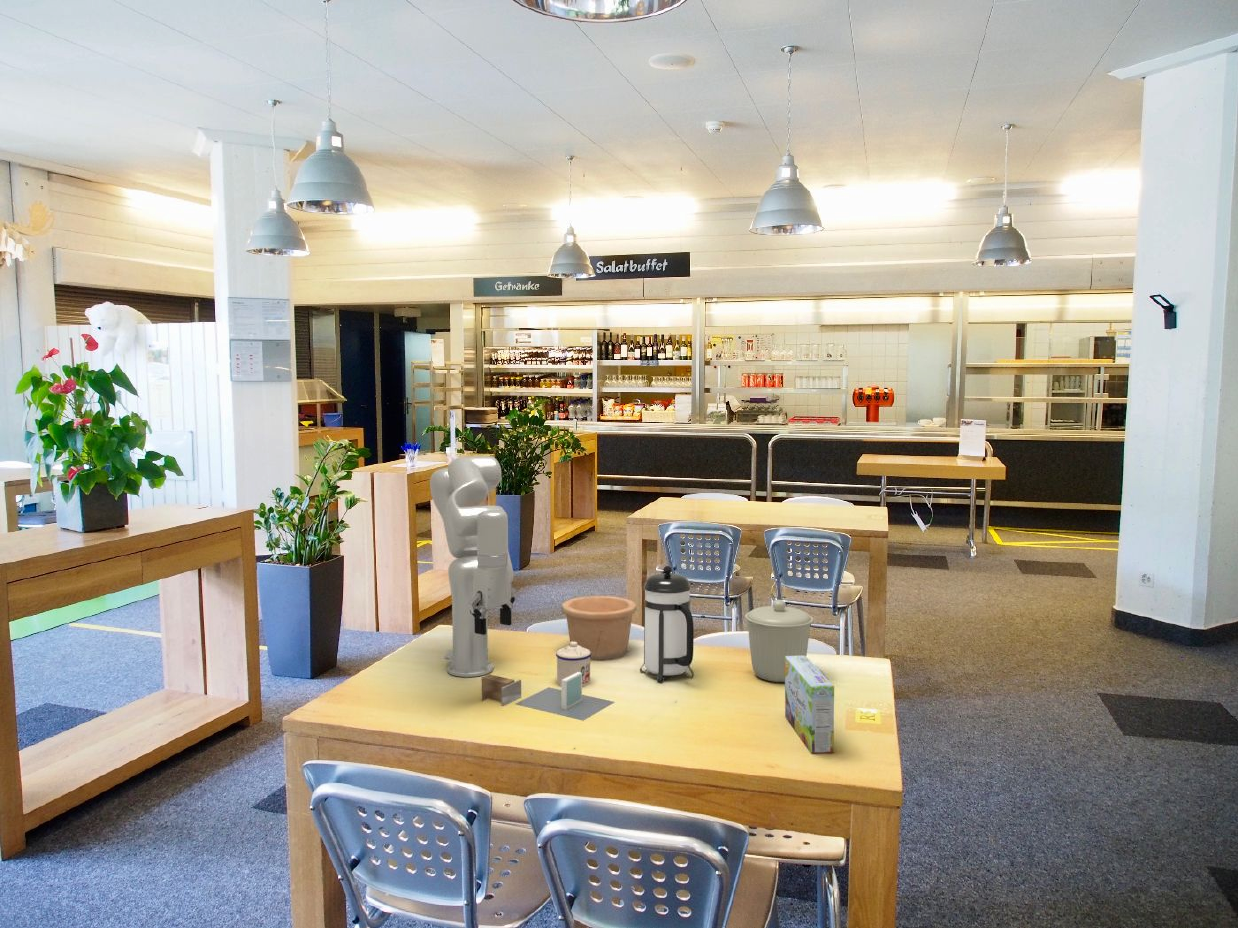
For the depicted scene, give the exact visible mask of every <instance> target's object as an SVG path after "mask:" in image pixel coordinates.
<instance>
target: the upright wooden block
mask: <svg viewBox="0 0 1238 928" xmlns="http://www.w3.org/2000/svg"><path fill="white" fill-rule="evenodd" d="M521 698H522V679H518V680H515V679H514V678H513V679H512V678H507V677H503V676H499V675H495V674H490V673H488V674H486V675H485V676H484V675H483V676H482V677H481V702H483V701H486V700H493V701H497V702H501V706H502V707H505V706H507V705H510V703H512V702H514V701H517V700H519V699H521Z"/></svg>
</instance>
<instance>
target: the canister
mask: <svg viewBox="0 0 1238 928" xmlns="http://www.w3.org/2000/svg"><path fill="white" fill-rule="evenodd" d="M744 618H745V619H746V621H747V629H748V631H747V632H748V640H749V652H750V658H751V666H752V670H753V672H754V674H755V675H756V677H758V678H760V679H761V680H764V681H768V682H775V683H785V656H806V657H807V654H808V649H809V647H808V646H809V640H810V639H809V638H810V633H811V624H813V622H814V617H813V616H812V615H811V614H809V613H807V612H806V611H805V610H803V609H799V608H795V607H791V606H790V607H789V606H787V604H786V601H784V600H783V599H775V600H773V602H772V605H768V606H767V605H765V606H759V607H756V608H754V609H752V610H750V611H748V612H747V613H746V614H745V615H744Z"/></svg>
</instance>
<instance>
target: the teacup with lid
mask: <svg viewBox="0 0 1238 928" xmlns="http://www.w3.org/2000/svg"><path fill="white" fill-rule="evenodd" d="M555 656H556V683H557V685H558V686H560V687H561V680H563V679H565V678H567V677H569V676H571V675H573V674H575V673H577V672H581V673H582V688H584V687H586V686H589V685H590V684H591V660H590V656H591V653H590V651H589V650H588V649H586V648H583V647H581V646H579V645H577V642H570V641H569V645H566V646H565V647H562V648H559V649H558V650H557V651H556V654H555Z"/></svg>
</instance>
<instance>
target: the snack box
mask: <svg viewBox="0 0 1238 928" xmlns="http://www.w3.org/2000/svg"><path fill="white" fill-rule="evenodd" d="M784 699H785V700H784V709H785V710H784V711H785V712H784V714H785V715H784V716H785V718H786V720H787V721H788V722H789V724H790V725H791V728H793V730H794V731H795V733H796V734H797V736H798V737H799V738H800V740H801V741H802V743H803V744H804V746H805V747H806V749H807V750H808V751H809V753H810V754H811V755H814V754H831V753H835V752H834V751H835V750H834V742H835V741H834V737H835V736H834V735H835V734H834V733H835V732H834V731H835V730H834V729H835V727H834V726H835V725H834V724H835V721H834V720H835V719H834V718H835V685H834V684H833V683H832V682H831V681H830V680H829V679H828V678H827V677H826V676H825V675H824V674H823V672H822V671H820V670H819V669H818V667H816V665H815V664H814V663H813V662H812V661H811V660H810V659H809V658H808V657H807V655H806V656H785V682H784Z"/></svg>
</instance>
